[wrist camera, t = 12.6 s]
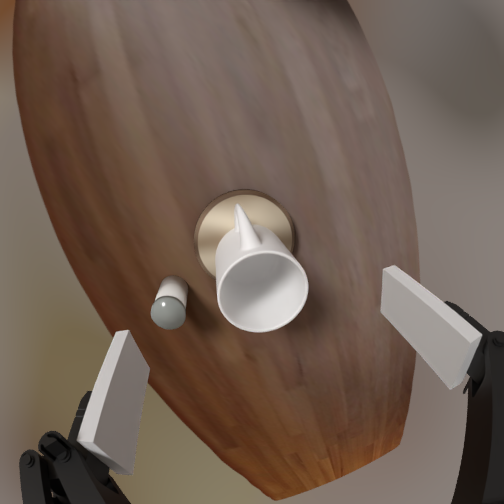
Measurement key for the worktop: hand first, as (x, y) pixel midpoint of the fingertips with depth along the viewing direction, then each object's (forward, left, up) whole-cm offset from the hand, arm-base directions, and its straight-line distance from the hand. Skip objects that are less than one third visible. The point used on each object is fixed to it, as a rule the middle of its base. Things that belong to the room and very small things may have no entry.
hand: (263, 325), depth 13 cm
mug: (+3, +1, -22) cm, 22 cm away
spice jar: (+8, -10, -24) cm, 27 cm away
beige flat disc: (+3, +1, -24) cm, 24 cm away
